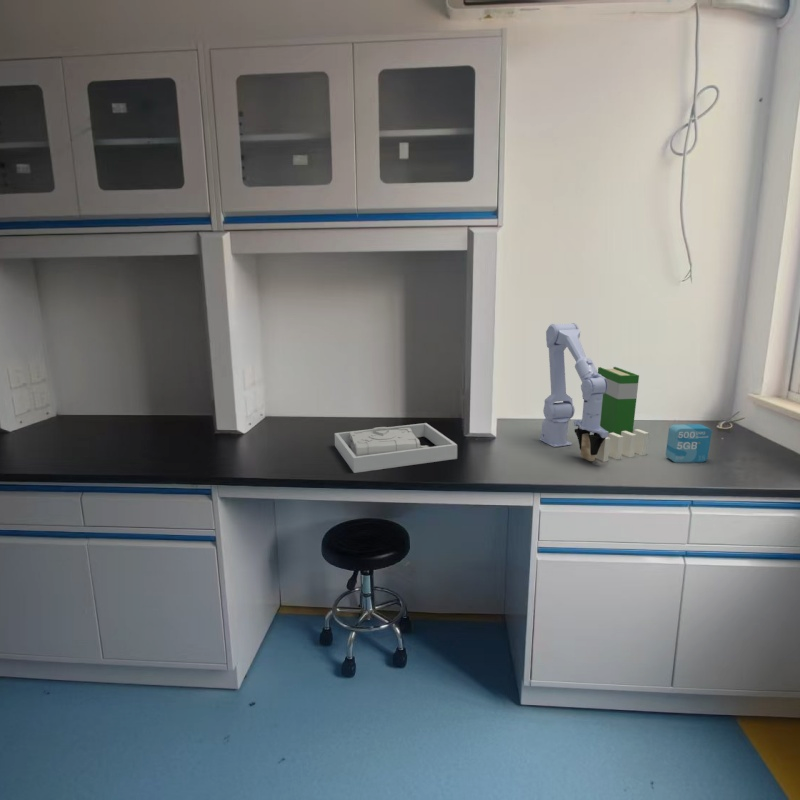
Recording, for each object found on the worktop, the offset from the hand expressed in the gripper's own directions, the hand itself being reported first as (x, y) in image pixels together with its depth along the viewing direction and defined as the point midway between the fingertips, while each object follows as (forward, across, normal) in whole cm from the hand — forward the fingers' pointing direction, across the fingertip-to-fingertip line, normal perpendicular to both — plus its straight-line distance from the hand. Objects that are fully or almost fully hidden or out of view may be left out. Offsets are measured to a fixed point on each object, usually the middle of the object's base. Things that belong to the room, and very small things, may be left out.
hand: (588, 452), depth 172 cm
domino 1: (+2, 0, 0) cm, 2 cm away
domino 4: (+3, 0, +16) cm, 17 cm away
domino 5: (+3, 0, +22) cm, 22 cm away
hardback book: (+3, -25, +32) cm, 41 cm away
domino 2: (+3, 0, +6) cm, 6 cm away
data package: (+3, +11, +32) cm, 34 cm away
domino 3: (+3, 0, +11) cm, 11 cm away
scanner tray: (+3, -31, -58) cm, 66 cm away
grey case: (+4, -33, -59) cm, 68 cm away
